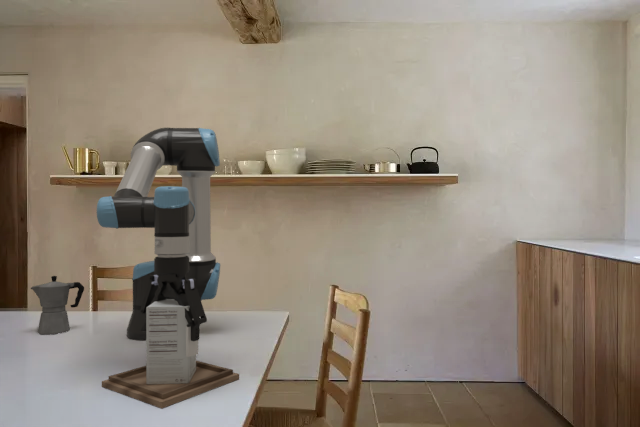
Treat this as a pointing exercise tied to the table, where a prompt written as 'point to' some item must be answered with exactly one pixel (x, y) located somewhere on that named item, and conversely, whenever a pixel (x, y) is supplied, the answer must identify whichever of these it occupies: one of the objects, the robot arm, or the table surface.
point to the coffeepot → (55, 305)
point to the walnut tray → (169, 394)
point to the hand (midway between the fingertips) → (172, 350)
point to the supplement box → (167, 344)
